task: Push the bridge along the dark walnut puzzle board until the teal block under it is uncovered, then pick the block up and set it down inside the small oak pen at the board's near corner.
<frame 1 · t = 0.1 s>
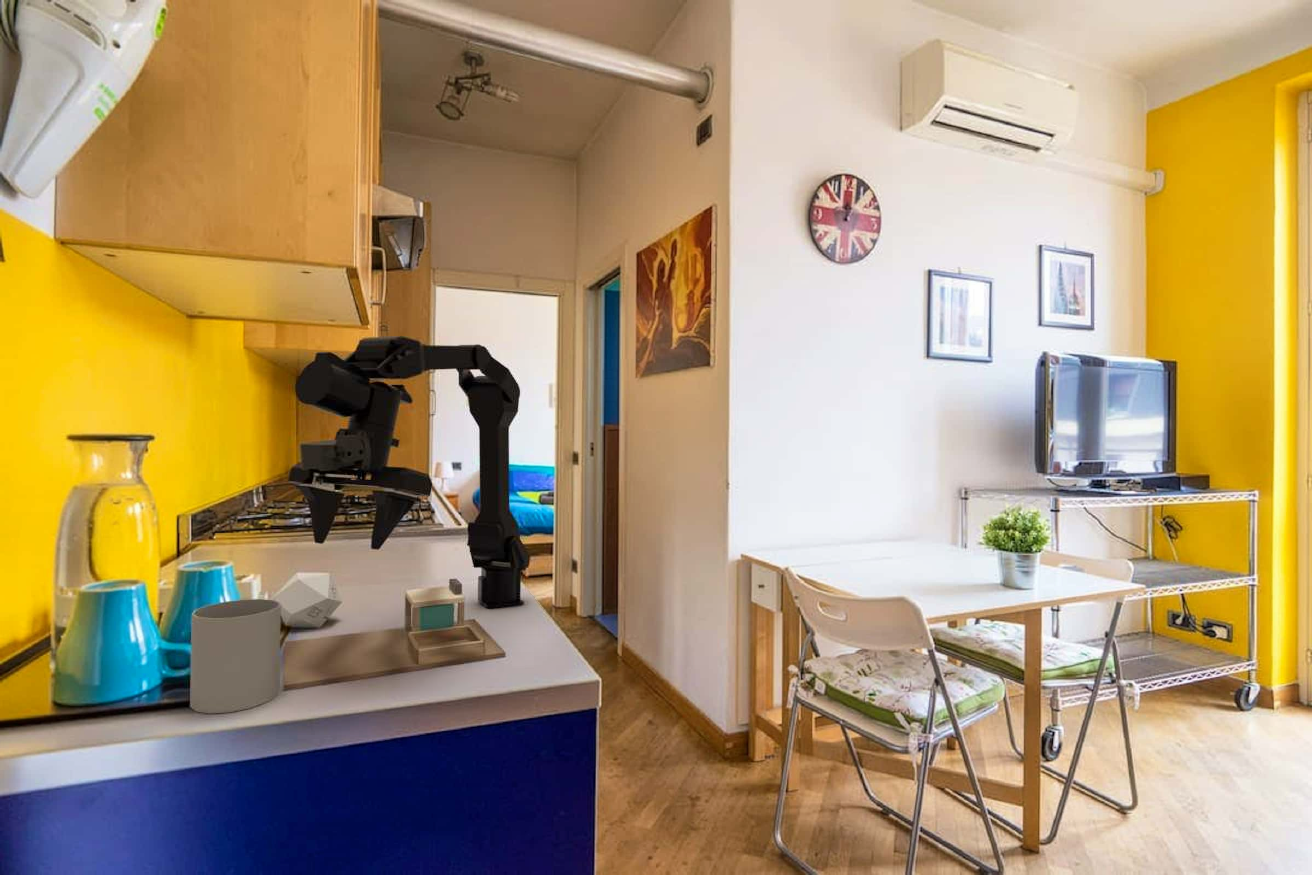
hand: (346, 546, 82), 15 cm above the counter, tool pointing down, fingers open, 9 cm apart
die: (307, 625, 100), on the counter
cup: (236, 699, 73), on the counter
block: (433, 632, 95), point 1 cm above the counter, touching board
bridge: (434, 607, 95), point 4 cm above the counter, slide at 0.0 cm
board: (393, 651, 89), on the counter
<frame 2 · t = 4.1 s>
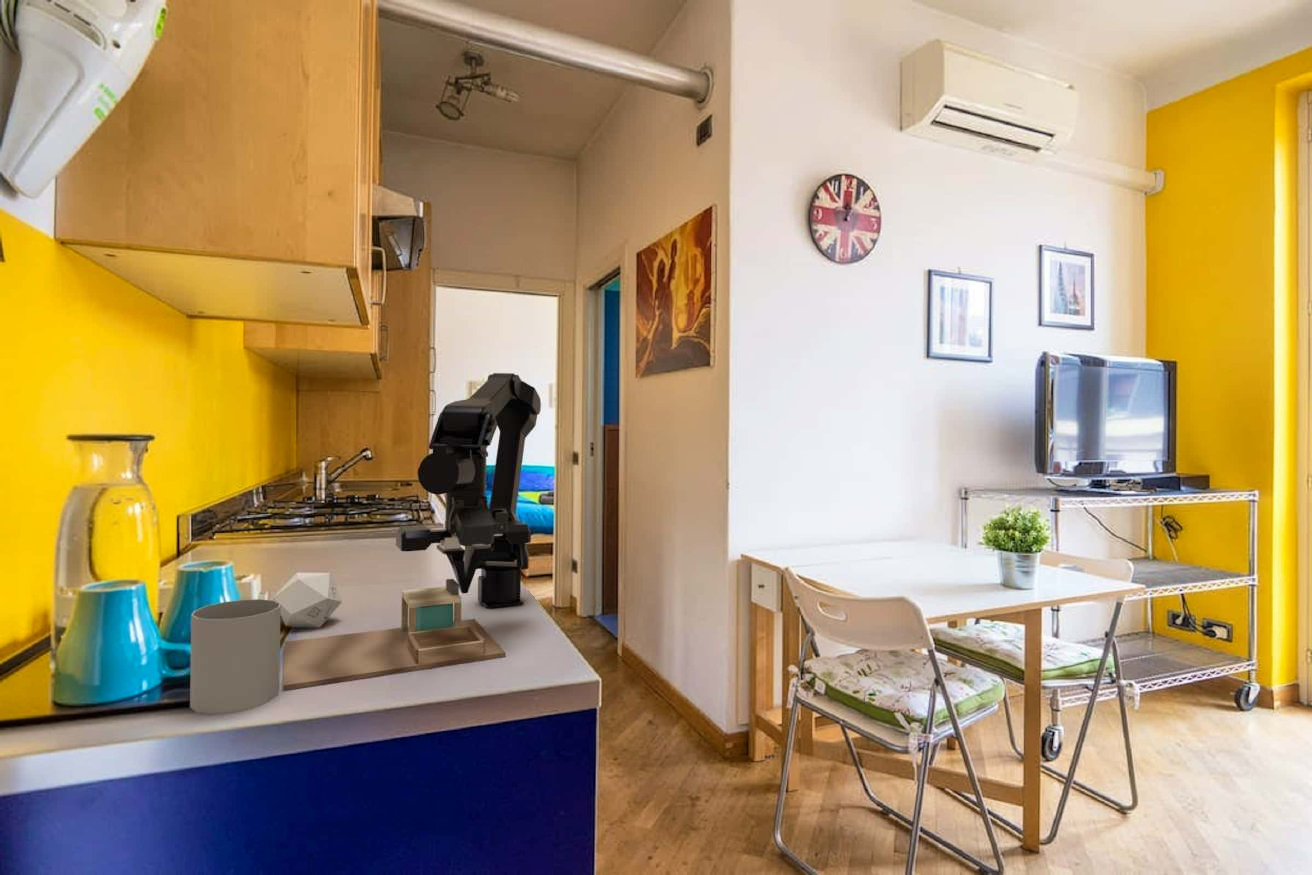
hand: (464, 592, 97), 6 cm above the counter, tool pointing down, fingers closed
bridge: (430, 608, 95), point 4 cm above the counter, slide at 0.5 cm, touching gripper
everything else where it was.
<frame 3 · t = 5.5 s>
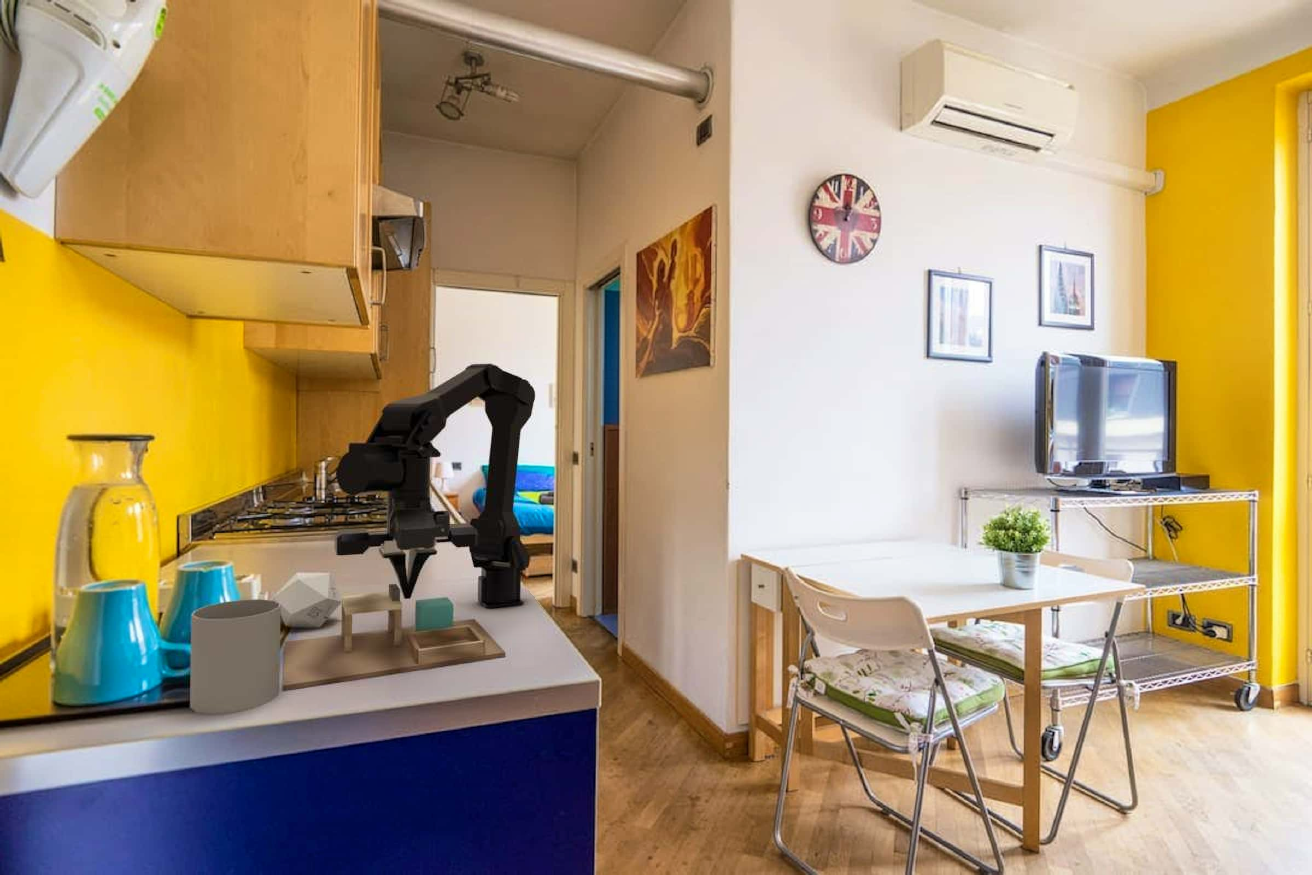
hand: (407, 598, 93), 6 cm above the counter, tool pointing down, fingers closed
bridge: (371, 614, 91), point 4 cm above the counter, slide at 8.5 cm, touching gripper
everything else where it was.
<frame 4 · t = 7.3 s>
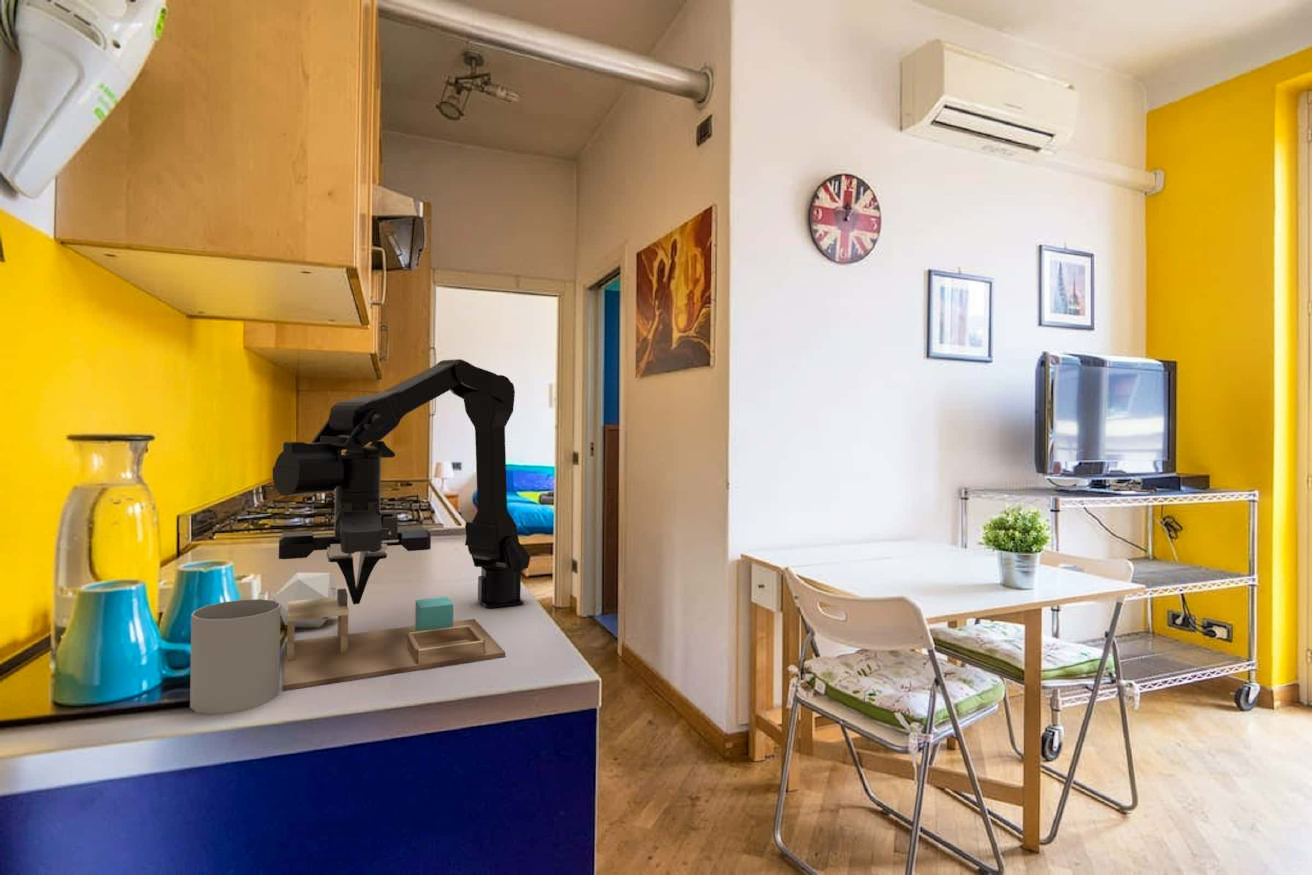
hand: (355, 603, 90), 6 cm above the counter, tool pointing down, fingers closed
bridge: (317, 620, 88), point 4 cm above the counter, slide at 15.2 cm, touching gripper
everything else where it was.
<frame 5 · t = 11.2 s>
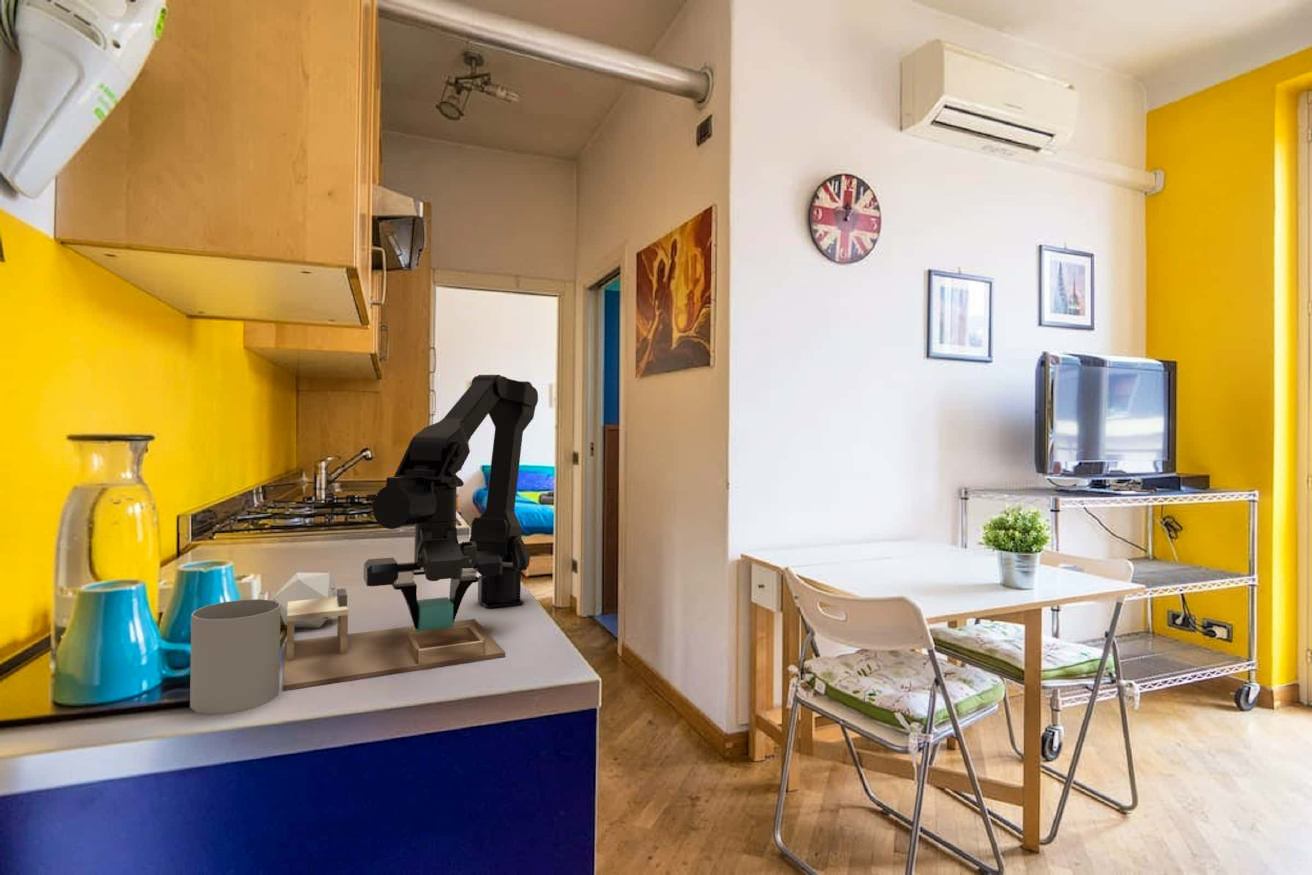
hand: (433, 625, 95), 2 cm above the counter, tool pointing down, fingers closed on block, 4 cm apart
block: (433, 632, 95), point 1 cm above the counter, touching board, gripper
bridge: (317, 620, 88), point 4 cm above the counter, slide at 15.2 cm
everything else where it was.
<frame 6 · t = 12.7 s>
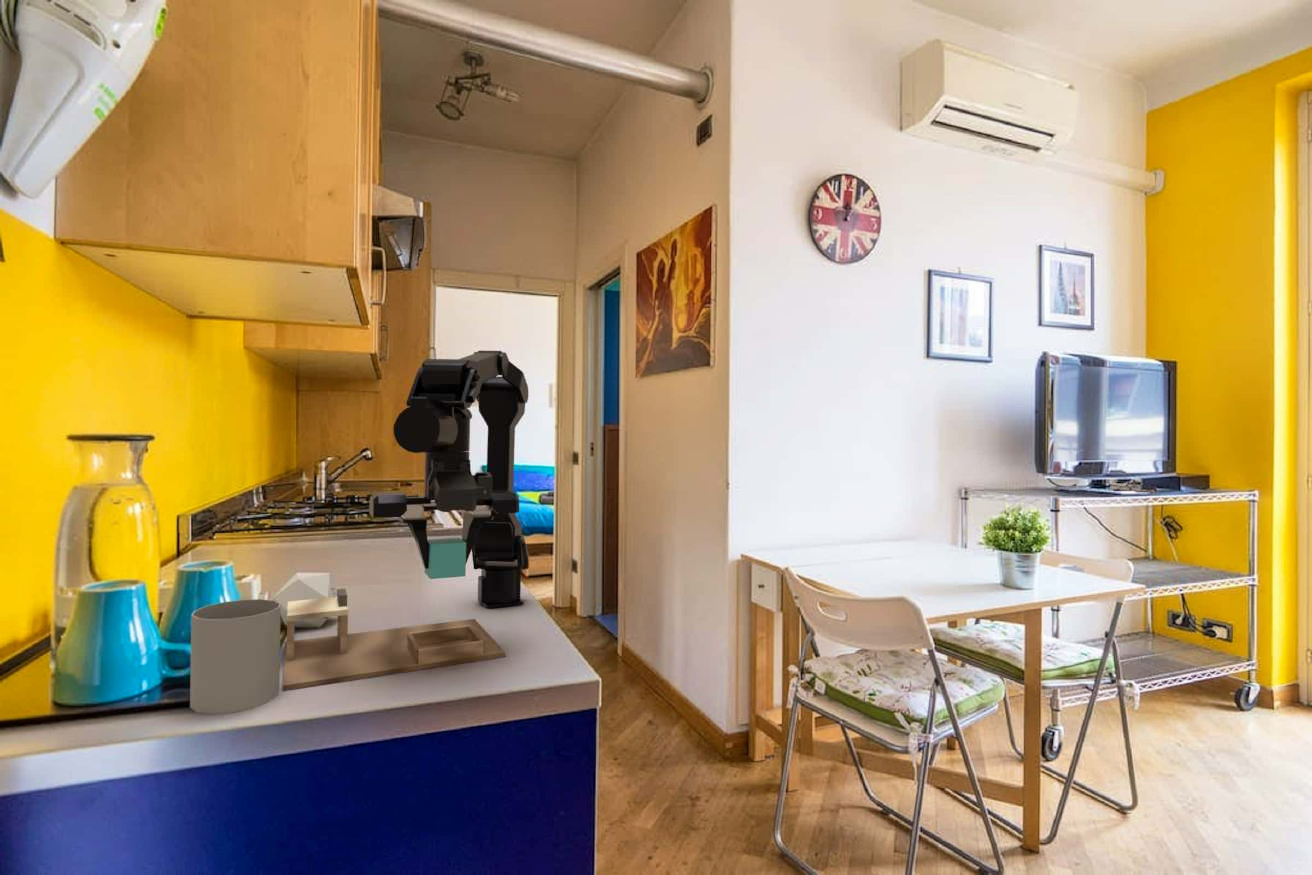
hand: (444, 566, 88), 12 cm above the counter, tool pointing down, fingers closed on block, 4 cm apart
block: (444, 574, 88), point 11 cm above the counter, touching gripper
everything else where it was.
when the fingers open (4 cm above the counter, at t = 14.4 s): block drops 2 cm, resting on board.
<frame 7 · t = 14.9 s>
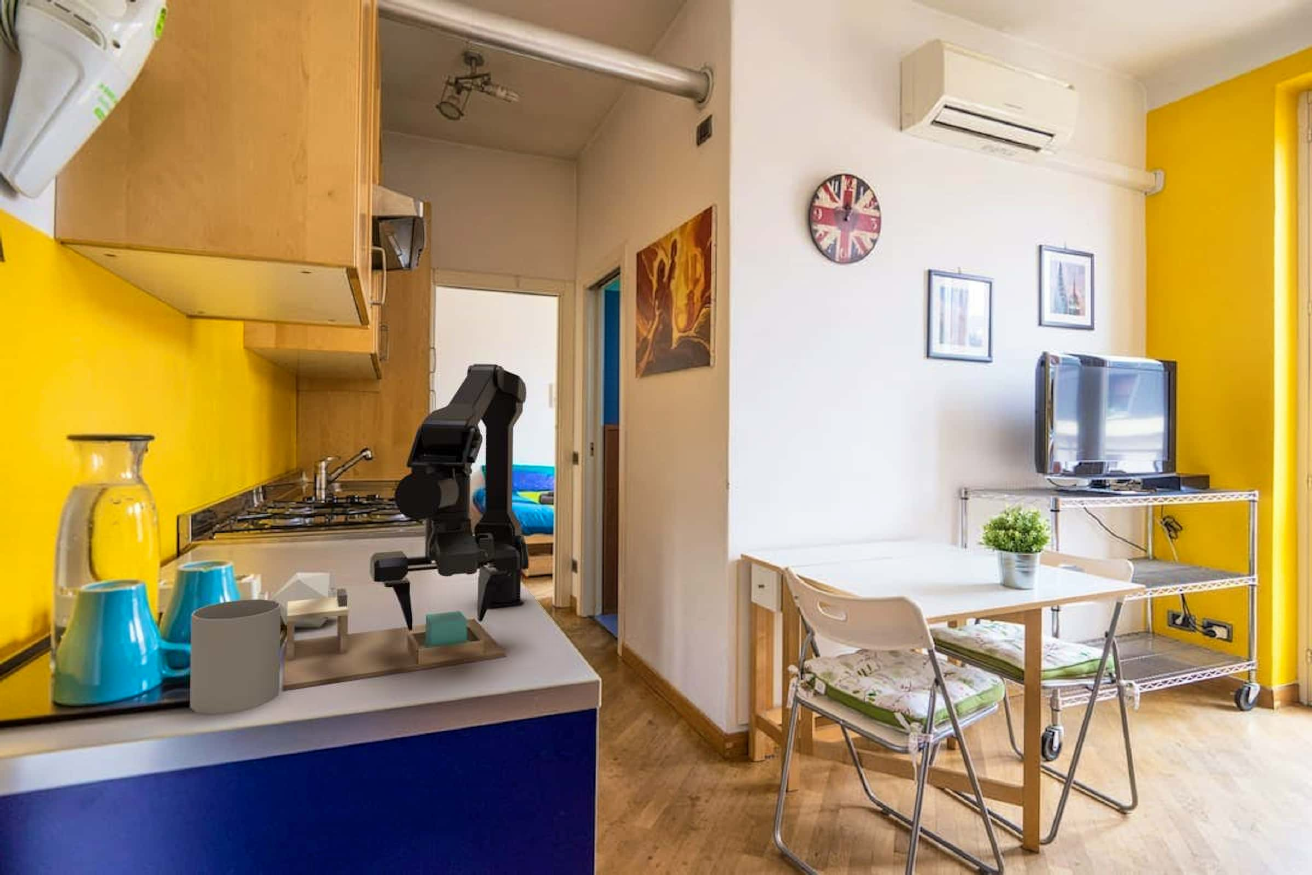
hand: (445, 625, 88), 4 cm above the counter, tool pointing down, fingers open, 9 cm apart
block: (445, 650, 88), point 1 cm above the counter, touching board
everything else where it was.
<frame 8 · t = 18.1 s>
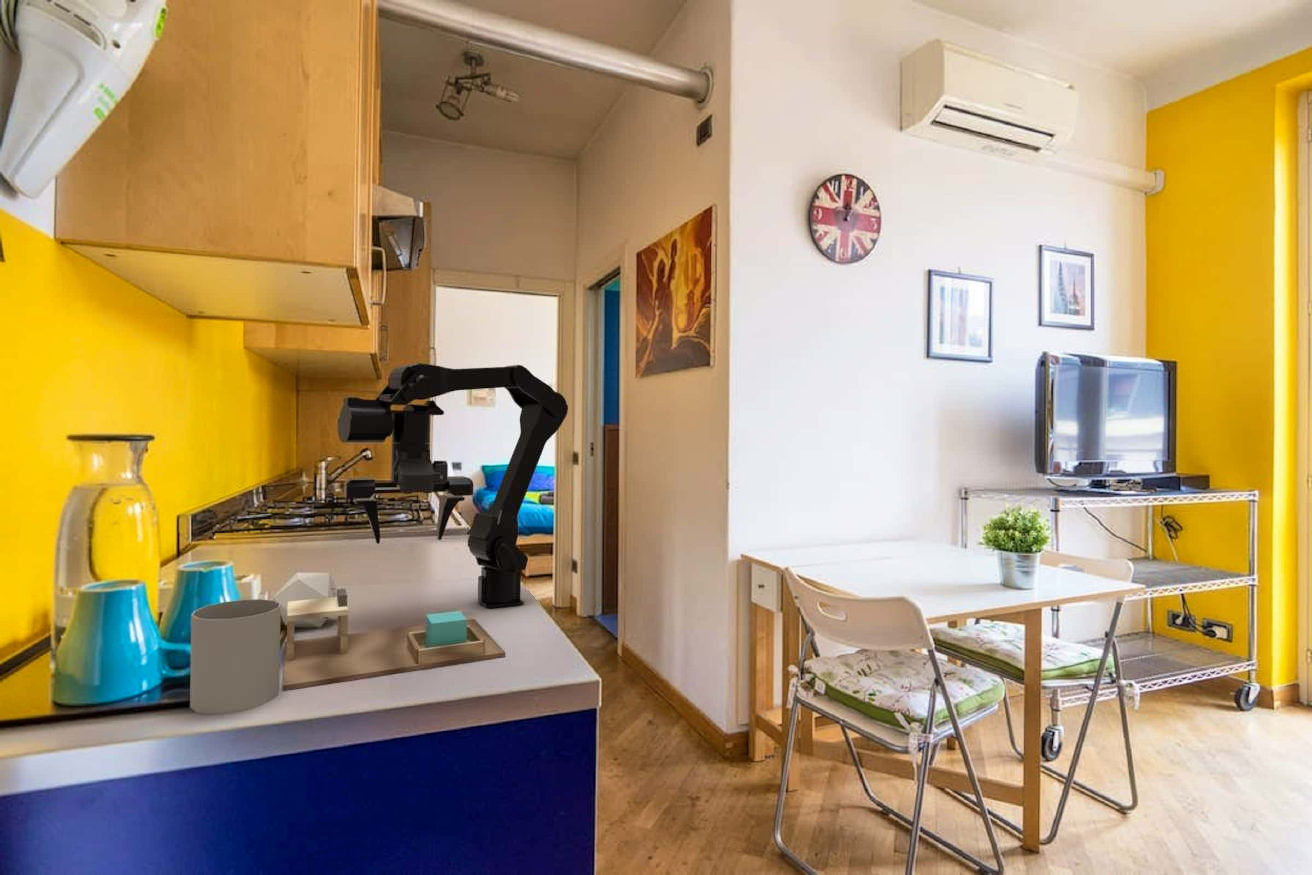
hand: (409, 541, 103), 13 cm above the counter, tool pointing down, fingers open, 9 cm apart
nothing on the counter moved.
at the end: block inside the target area (0.1 cm from its centre), point 0.6 cm above the counter; bridge slide at 15.2 cm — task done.
